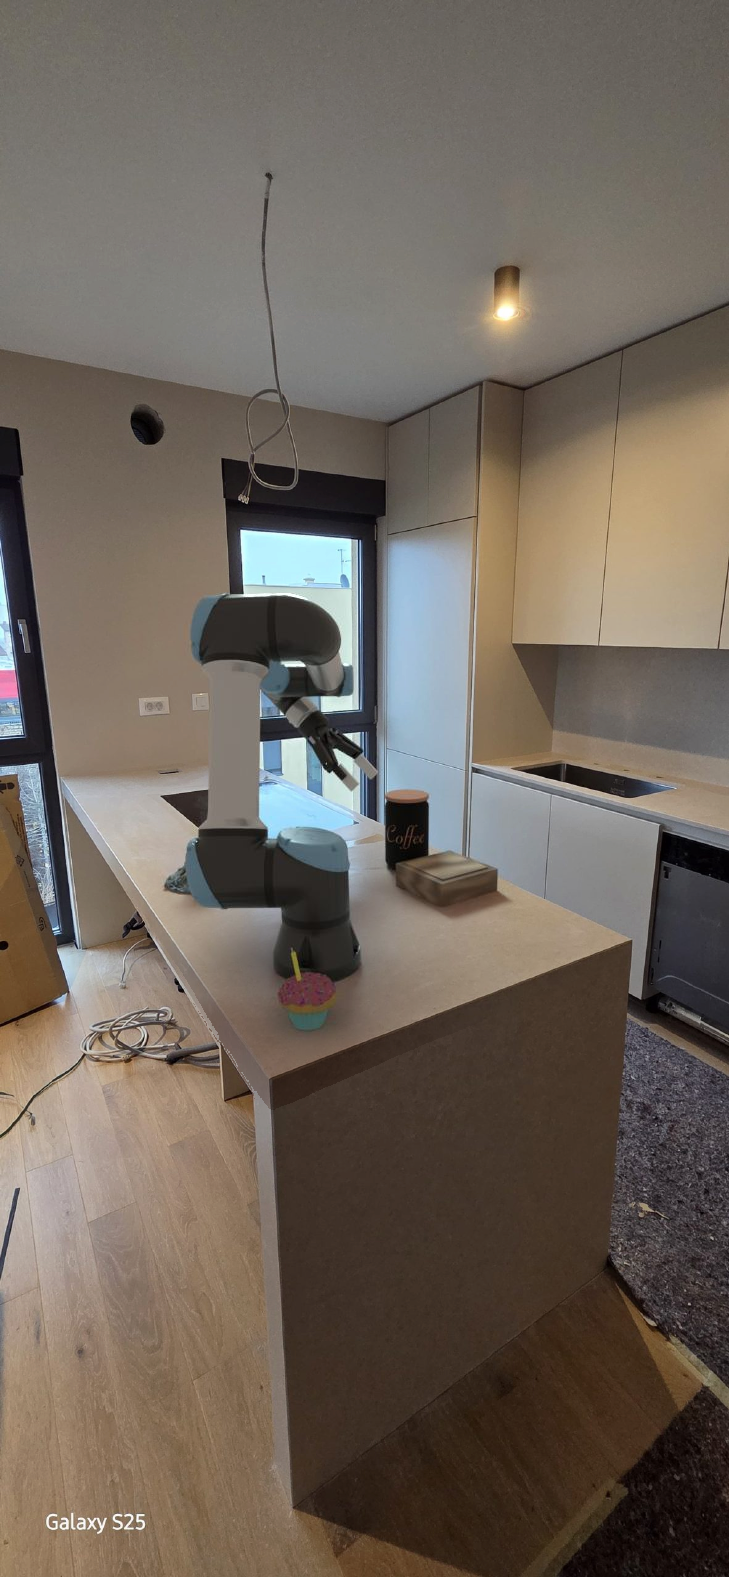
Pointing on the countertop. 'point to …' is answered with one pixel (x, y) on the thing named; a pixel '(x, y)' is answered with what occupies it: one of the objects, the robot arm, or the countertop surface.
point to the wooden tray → (446, 877)
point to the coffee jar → (406, 826)
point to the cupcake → (307, 997)
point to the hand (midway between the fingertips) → (365, 781)
